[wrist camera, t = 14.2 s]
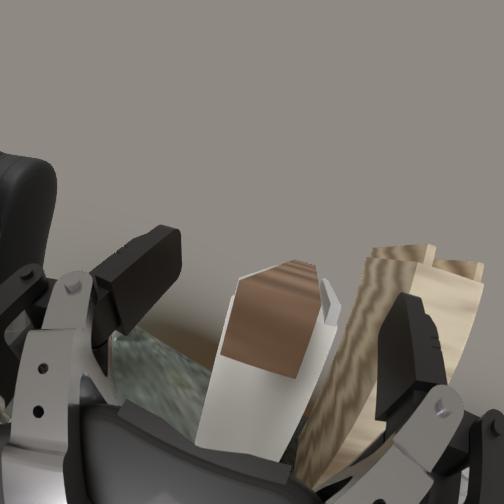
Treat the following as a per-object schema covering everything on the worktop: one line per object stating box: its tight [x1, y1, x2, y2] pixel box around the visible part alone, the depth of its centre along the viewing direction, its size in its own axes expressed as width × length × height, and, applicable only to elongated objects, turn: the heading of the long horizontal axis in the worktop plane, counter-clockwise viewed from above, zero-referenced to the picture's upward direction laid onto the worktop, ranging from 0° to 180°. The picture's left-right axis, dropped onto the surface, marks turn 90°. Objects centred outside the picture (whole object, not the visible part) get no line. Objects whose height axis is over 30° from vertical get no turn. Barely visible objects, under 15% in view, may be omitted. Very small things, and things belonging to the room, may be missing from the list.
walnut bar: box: [220, 260, 322, 379], centre depth 23 cm, size 28×3×3 cm, turn 166°
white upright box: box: [195, 265, 341, 462], centre depth 29 cm, size 20×8×28 cm, turn 166°
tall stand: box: [293, 244, 484, 490], centre depth 27 cm, size 20×7×34 cm, turn 166°
